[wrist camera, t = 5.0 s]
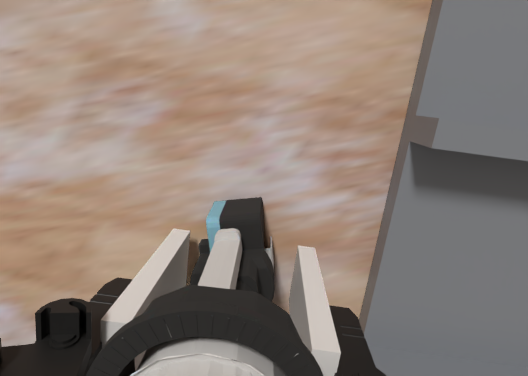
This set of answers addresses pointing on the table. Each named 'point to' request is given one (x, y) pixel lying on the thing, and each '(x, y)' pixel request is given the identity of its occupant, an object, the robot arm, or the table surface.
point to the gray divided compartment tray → (458, 204)
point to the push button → (216, 312)
